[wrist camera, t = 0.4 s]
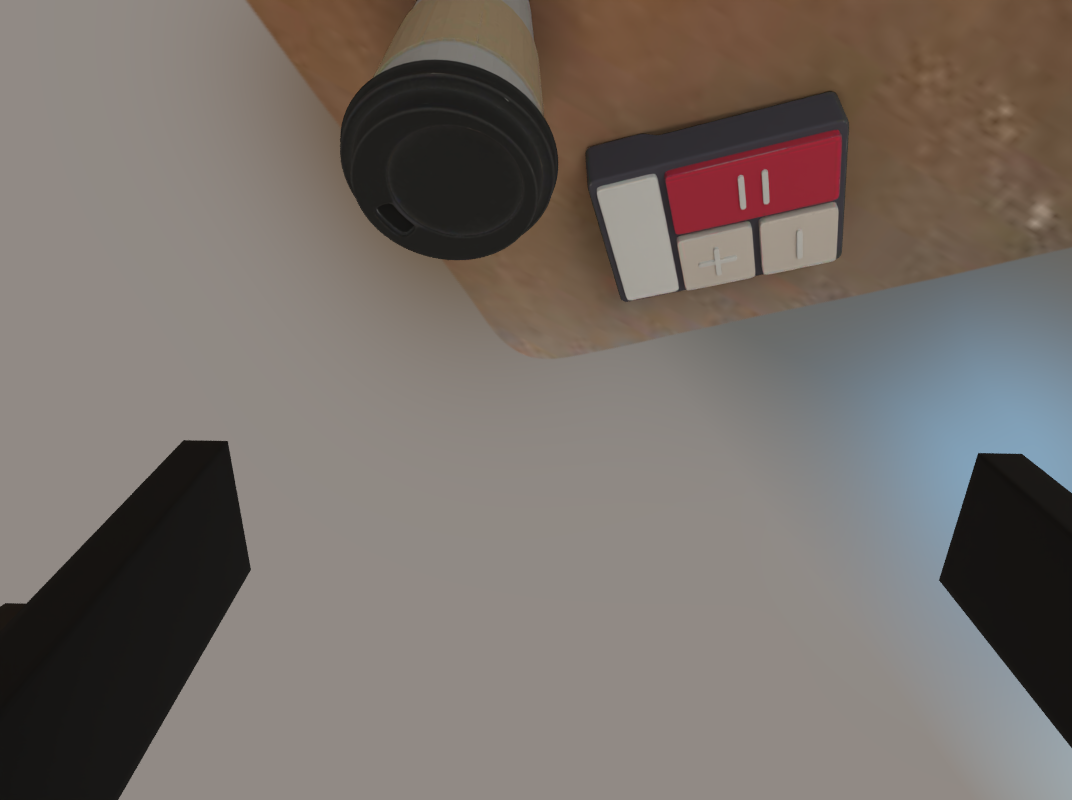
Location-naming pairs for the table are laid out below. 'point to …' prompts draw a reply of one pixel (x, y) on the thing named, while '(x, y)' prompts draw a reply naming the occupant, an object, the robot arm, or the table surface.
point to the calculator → (723, 198)
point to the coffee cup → (453, 131)
